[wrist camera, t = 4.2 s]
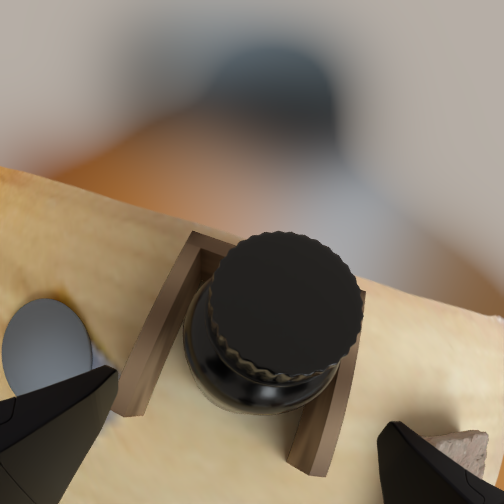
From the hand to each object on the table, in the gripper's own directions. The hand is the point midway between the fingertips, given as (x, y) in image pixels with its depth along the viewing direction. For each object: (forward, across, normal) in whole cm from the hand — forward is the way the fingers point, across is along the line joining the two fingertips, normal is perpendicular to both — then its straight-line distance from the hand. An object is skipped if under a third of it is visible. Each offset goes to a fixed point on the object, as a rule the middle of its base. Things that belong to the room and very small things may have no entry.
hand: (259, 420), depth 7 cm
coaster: (+7, +14, +8) cm, 18 cm away
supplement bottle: (+10, 0, +5) cm, 11 cm away
